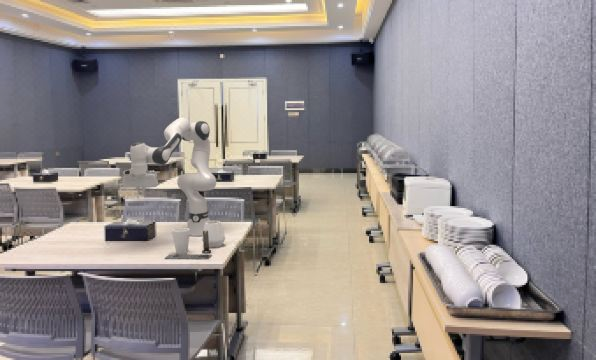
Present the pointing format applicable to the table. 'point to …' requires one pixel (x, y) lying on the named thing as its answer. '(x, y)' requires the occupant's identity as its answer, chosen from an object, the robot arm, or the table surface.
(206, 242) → the post
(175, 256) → the hole plate
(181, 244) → the foam cup
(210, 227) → the white bulging cylinder
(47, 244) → the table surface
